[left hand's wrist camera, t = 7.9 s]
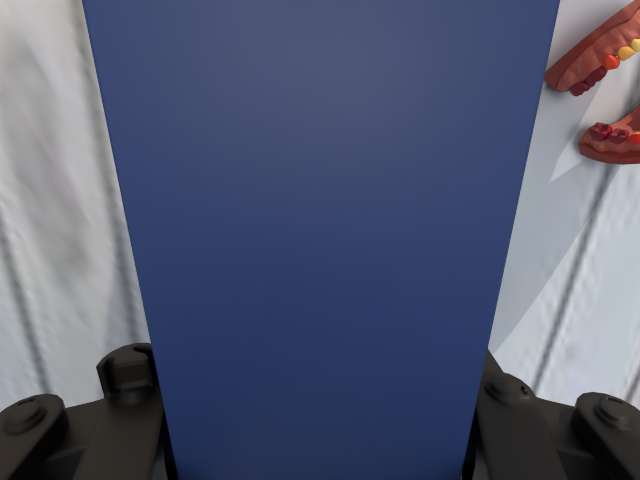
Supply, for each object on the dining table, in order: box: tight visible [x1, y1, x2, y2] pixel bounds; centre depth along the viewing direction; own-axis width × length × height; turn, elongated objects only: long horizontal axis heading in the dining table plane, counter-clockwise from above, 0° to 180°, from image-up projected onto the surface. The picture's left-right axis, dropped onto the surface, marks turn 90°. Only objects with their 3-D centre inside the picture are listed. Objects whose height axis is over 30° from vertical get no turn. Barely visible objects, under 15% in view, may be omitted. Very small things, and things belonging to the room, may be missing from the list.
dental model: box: [544, 0, 640, 164], centre depth 19 cm, size 6×4×8 cm
